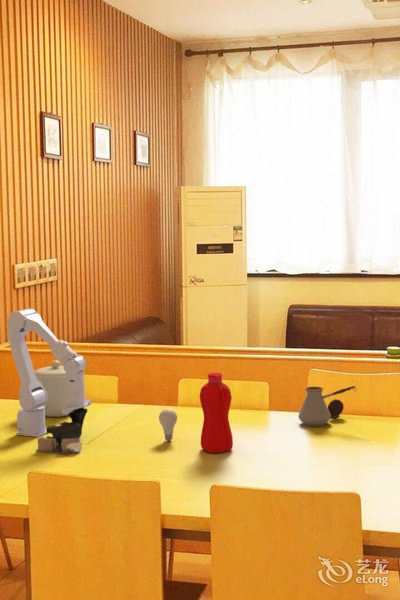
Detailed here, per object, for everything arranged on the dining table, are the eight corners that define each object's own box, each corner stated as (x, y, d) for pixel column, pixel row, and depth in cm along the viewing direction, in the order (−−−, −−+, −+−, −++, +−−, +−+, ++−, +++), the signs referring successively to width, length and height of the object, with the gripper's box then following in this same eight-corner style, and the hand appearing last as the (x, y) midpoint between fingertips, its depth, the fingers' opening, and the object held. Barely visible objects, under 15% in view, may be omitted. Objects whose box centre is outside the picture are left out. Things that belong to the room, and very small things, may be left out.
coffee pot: (293, 425, 284) (292, 384, 282) (306, 418, 294) (305, 378, 292) (350, 432, 273) (350, 389, 271) (362, 424, 283) (361, 383, 281)
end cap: (60, 448, 264) (59, 428, 263) (46, 445, 268) (45, 425, 268) (82, 441, 272) (81, 422, 271) (68, 438, 276) (67, 419, 275)
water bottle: (213, 457, 250) (211, 378, 247) (197, 448, 260) (195, 372, 257) (239, 452, 254) (237, 374, 252) (222, 444, 264) (220, 369, 261)
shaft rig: (36, 451, 262) (35, 438, 261) (46, 446, 267) (45, 434, 266) (73, 455, 255) (72, 443, 255) (83, 451, 260) (82, 438, 260)
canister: (77, 419, 301) (74, 364, 299) (29, 420, 302) (26, 365, 299) (84, 408, 319) (82, 355, 317) (39, 409, 319) (36, 356, 317)
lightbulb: (180, 439, 271) (180, 407, 270) (172, 444, 265) (171, 411, 264) (164, 437, 273) (163, 406, 272) (156, 442, 268) (155, 410, 267)
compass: (333, 413, 300) (333, 394, 299) (344, 418, 292) (344, 398, 292) (314, 415, 297) (314, 396, 297) (324, 420, 290) (324, 401, 289)
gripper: (73, 396, 267) (75, 436, 269) (97, 387, 280) (99, 425, 282) (56, 395, 271) (58, 434, 272) (81, 386, 283) (82, 424, 285)
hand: (78, 430), depth 277 cm, fingers closed
